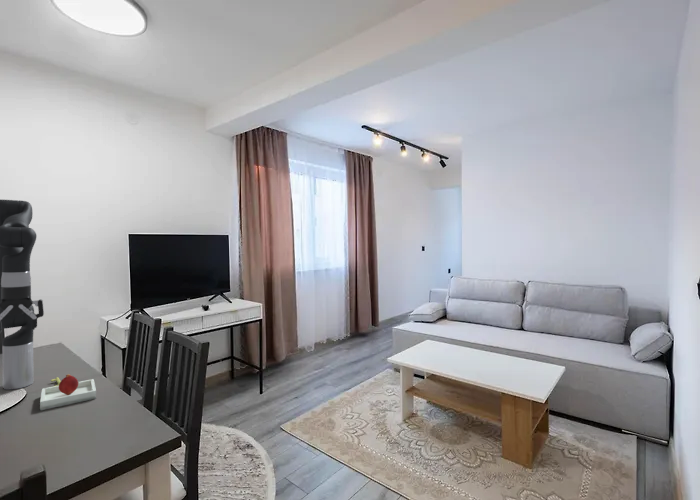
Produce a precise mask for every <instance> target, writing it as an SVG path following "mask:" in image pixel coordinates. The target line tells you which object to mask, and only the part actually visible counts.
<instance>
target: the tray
mask: <svg viewBox="0 0 700 500" xmlns="http://www.w3.org/2000/svg"><path fill="white" fill-rule="evenodd" d="M96 399H97V389H96V383H95V379H94V378H92V379H87V380H86V379H85V380H82V381H78V387H77V389H76V390H75V391H74V392H73V393H71V394H70V395H66V394H64V393H62V392H61V391H60V390H59V386H56V385H54V387H53V386H49V387H43V388H42V389H41V394H40V401H39V402H40V403H39V405H40V406H39V409H40V410H39V411H44V410H49V409H53V408H57V407H62V406H68V405H73V404H77V403H82V402H85V401H90V400H96Z"/></svg>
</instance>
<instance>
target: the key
mask: <svg viewBox="0 0 700 500" xmlns="http://www.w3.org/2000/svg"><path fill="white" fill-rule="evenodd" d="M61 381H62V380H60V378H59V377H55V378H53V379H50V382H52V383H53V382H56V383H57V384H56V385H54V386H59V384H60V382H61ZM54 386H52V387H54Z"/></svg>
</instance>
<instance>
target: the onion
mask: <svg viewBox="0 0 700 500" xmlns="http://www.w3.org/2000/svg"><path fill="white" fill-rule="evenodd" d="M60 381H61V382H60V384H59V390H60V391H61V392H62V393H64V394H66V395H70V394H71V393H73V392H74V391H75V390H76V389H77V387H78V382H79V381H78V379H77V378H76V377H75V376H73V375H71V374H69V373H68V374H65V377H64V378H63V379H61V380H60Z"/></svg>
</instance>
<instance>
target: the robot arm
mask: <svg viewBox="0 0 700 500" xmlns="http://www.w3.org/2000/svg"><path fill="white" fill-rule="evenodd" d="M32 219H33V207H32V204H31V203H30V202H29V201H26V200H15V199H0V334H2V331H3V330H5V329H11V328H19V327H20V328H19V329H17V331H15V332H13V333H11V334H9V335H7V336H5V337H3V338H2V341H1V345H2V389H3V388H4V389H3V390H17V389H21V388H25V387H26V388H27V387H28V386H31V385H32V384H34V330H35V329H36V328H37V327H38V318H42V317H44V314H45V312H44V303H43V301H44V300H43V299H38V300H32V277H31V270H30V269H31V268H30V267H31V264H30V263H31V256H32V252H33V249H34V245H35V243H36V240H37V233H36V231H35V230H34V228H31V227H29V225H30V224H31V222H32ZM33 305H34V306H35V307H37V308H38V309H37V310H38V313H35V308H34V306H33Z"/></svg>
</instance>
